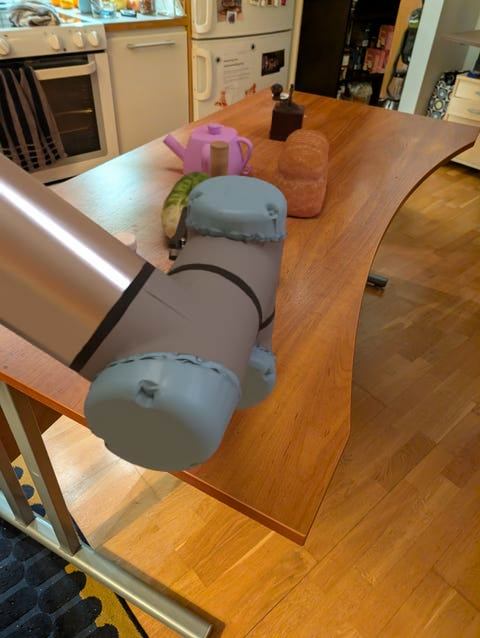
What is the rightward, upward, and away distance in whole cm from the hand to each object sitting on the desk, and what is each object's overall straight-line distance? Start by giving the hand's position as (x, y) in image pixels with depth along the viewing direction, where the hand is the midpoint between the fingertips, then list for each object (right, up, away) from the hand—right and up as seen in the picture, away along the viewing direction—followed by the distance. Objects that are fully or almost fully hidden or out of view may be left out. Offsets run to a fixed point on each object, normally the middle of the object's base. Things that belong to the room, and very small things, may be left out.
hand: (216, 191), depth 69 cm
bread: (+19, +14, +55) cm, 60 cm away
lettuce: (-8, +1, +37) cm, 38 cm away
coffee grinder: (+19, +42, +88) cm, 100 cm away
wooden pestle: (0, -12, +3) cm, 12 cm away
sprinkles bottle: (-17, -16, +17) cm, 29 cm away
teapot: (-6, +21, +61) cm, 65 cm away
